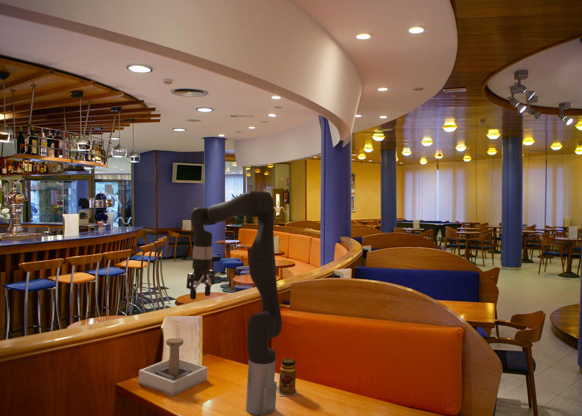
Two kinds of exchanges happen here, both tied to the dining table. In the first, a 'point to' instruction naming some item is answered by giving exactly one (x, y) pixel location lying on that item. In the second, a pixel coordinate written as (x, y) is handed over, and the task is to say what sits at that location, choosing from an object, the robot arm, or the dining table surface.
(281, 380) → the condiment
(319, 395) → the dining table surface
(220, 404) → the dining table surface
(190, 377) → the box
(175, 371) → the handle
